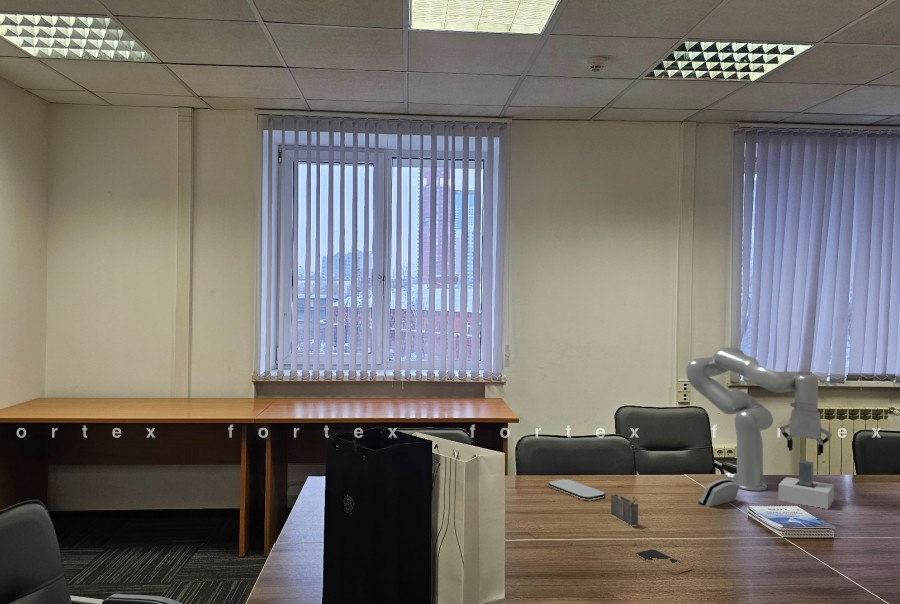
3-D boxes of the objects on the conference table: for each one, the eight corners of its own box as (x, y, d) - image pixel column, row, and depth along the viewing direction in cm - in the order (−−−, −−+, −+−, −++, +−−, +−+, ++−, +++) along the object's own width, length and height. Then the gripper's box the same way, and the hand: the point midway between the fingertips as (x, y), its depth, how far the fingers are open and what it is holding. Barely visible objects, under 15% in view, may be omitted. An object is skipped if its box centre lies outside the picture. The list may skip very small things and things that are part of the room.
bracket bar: (799, 499, 229) (799, 462, 229) (801, 497, 232) (801, 460, 232) (811, 501, 226) (811, 464, 226) (813, 499, 229) (813, 462, 229)
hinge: (723, 496, 233) (731, 474, 230) (734, 503, 229) (742, 481, 227) (696, 503, 224) (704, 480, 222) (706, 511, 221) (715, 487, 218)
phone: (674, 573, 163) (634, 552, 177) (674, 576, 163) (634, 555, 177) (694, 568, 166) (653, 548, 180) (694, 571, 166) (653, 551, 180)
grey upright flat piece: (639, 527, 200) (639, 497, 201) (631, 528, 199) (631, 498, 200) (618, 516, 211) (618, 488, 211) (611, 517, 210) (611, 489, 210)
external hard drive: (545, 487, 245) (545, 482, 245) (566, 483, 251) (566, 478, 251) (586, 503, 225) (586, 498, 225) (608, 498, 231) (608, 493, 231)
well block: (778, 500, 229) (778, 484, 229) (786, 492, 240) (786, 476, 240) (827, 509, 219) (827, 492, 219) (833, 500, 229) (833, 484, 229)
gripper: (778, 405, 232) (777, 450, 232) (831, 411, 221) (829, 458, 221) (782, 403, 238) (781, 446, 238) (834, 409, 227) (833, 454, 227)
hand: (804, 452), depth 230 cm, fingers open, 9 cm apart
